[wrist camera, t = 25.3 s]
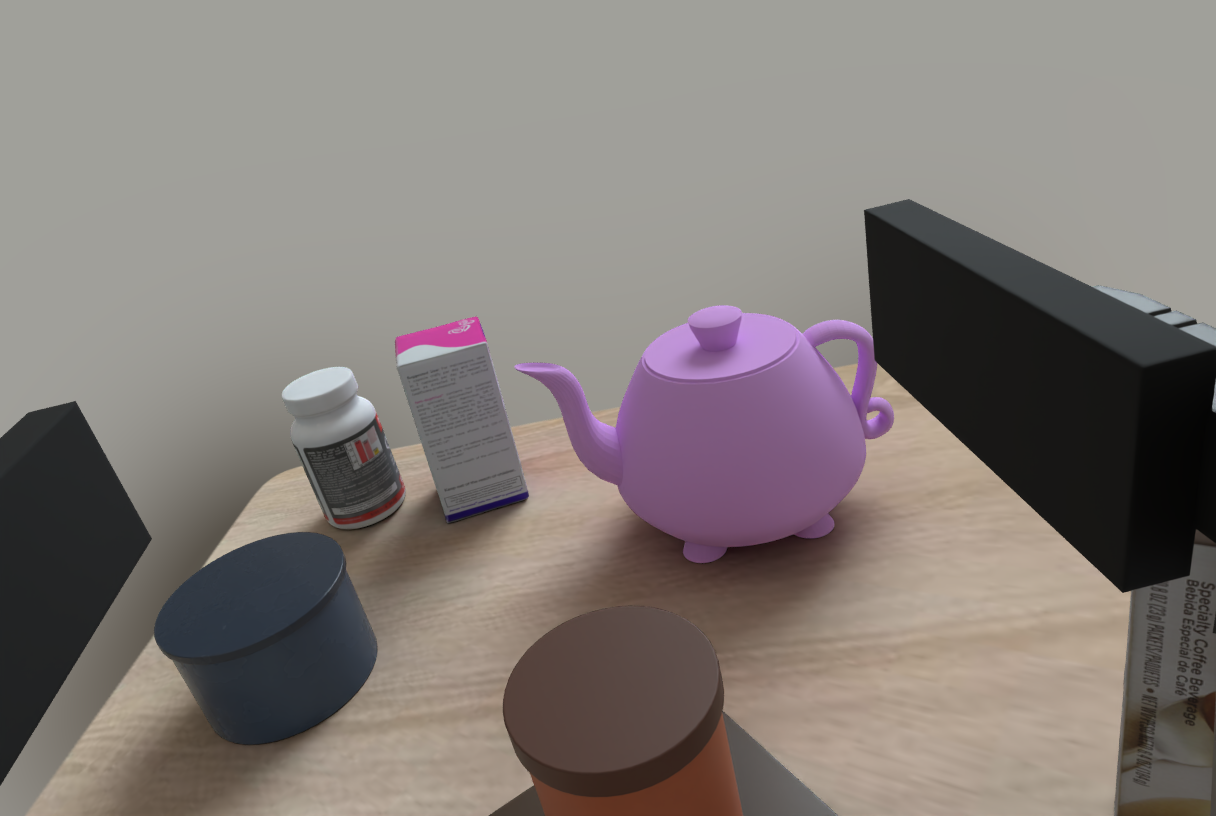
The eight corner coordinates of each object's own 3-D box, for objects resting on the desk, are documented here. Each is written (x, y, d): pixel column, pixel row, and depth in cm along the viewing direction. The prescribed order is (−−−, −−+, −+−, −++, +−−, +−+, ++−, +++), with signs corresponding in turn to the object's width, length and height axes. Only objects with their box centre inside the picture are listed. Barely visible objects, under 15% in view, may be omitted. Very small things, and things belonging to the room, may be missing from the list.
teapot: (572, 627, 44) (511, 420, 39) (561, 485, 57) (514, 313, 51) (949, 542, 44) (942, 321, 38) (854, 418, 57) (838, 238, 51)
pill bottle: (424, 491, 60) (378, 365, 56) (366, 539, 56) (311, 408, 52) (369, 480, 63) (322, 360, 59) (310, 524, 59) (255, 399, 55)
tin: (220, 782, 40) (164, 690, 37) (193, 674, 47) (145, 591, 45) (405, 677, 44) (366, 586, 41) (352, 592, 51) (317, 510, 48)
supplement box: (533, 498, 56) (486, 341, 51) (446, 525, 56) (390, 369, 50) (520, 458, 61) (477, 312, 56) (440, 482, 61) (389, 336, 56)
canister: (642, 1028, 27) (570, 820, 22) (541, 871, 32) (467, 678, 28) (801, 892, 29) (766, 682, 25) (683, 768, 35) (637, 577, 30)
